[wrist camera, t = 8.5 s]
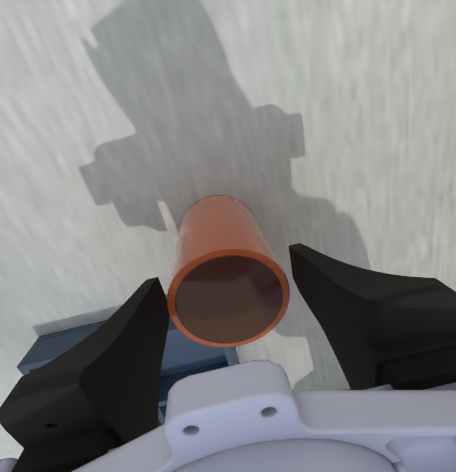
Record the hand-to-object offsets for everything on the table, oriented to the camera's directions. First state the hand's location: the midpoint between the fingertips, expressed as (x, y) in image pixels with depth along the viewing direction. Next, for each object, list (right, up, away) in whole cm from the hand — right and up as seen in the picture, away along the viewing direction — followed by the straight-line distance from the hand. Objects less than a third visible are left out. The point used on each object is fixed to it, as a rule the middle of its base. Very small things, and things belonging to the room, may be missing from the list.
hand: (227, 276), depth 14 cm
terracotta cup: (-1, +2, +5) cm, 6 cm away
